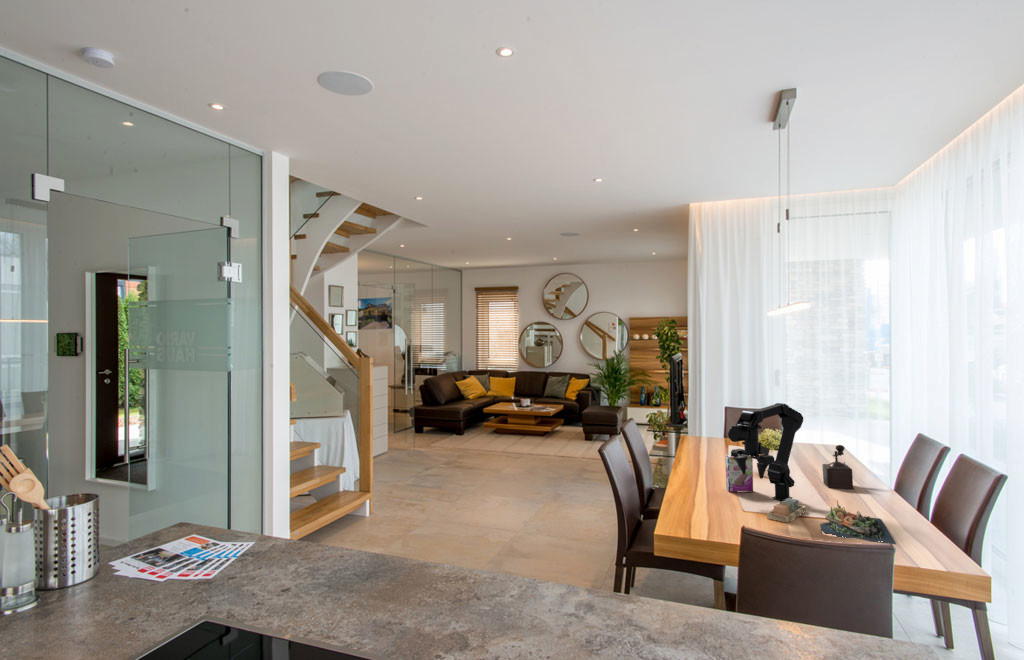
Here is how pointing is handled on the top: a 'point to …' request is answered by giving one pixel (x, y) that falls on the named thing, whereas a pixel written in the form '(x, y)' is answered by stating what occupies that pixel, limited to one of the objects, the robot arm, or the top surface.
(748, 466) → the candy bar box
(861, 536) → the plated dish
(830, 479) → the manual coffee grinder
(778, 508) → the terracotta block
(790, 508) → the block frame
